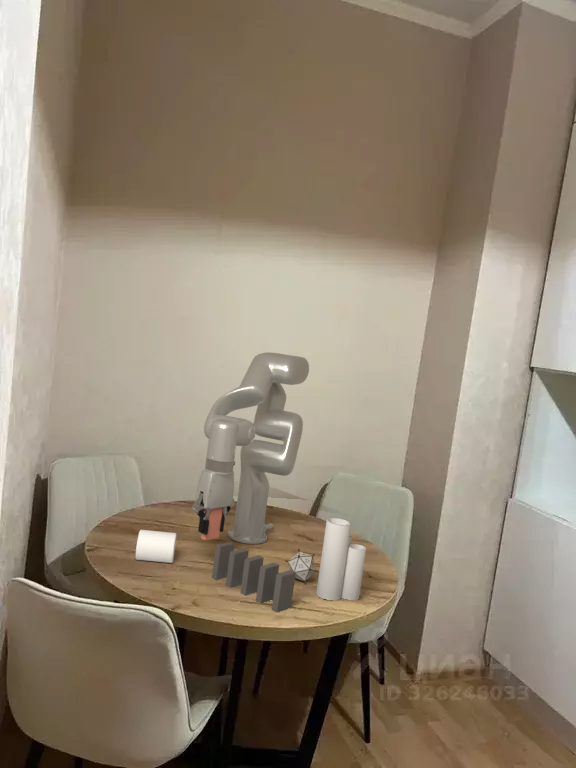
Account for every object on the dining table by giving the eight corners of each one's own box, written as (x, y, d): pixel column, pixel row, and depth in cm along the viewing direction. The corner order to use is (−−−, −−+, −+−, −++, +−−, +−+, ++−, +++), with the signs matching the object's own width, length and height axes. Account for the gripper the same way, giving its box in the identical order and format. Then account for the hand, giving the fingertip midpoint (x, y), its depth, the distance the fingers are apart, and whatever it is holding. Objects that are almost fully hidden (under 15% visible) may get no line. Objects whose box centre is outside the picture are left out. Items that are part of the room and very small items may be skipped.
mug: (171, 567, 174) (175, 538, 173) (134, 563, 173) (137, 535, 172) (175, 551, 186) (178, 524, 185) (140, 548, 185) (143, 521, 184)
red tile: (214, 535, 177) (218, 503, 176) (218, 537, 176) (223, 505, 175) (200, 538, 173) (204, 505, 172) (204, 540, 172) (209, 507, 171)
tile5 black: (269, 596, 163) (274, 562, 162) (274, 599, 162) (279, 565, 161) (255, 601, 159) (260, 566, 159) (260, 604, 158) (265, 568, 157)
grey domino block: (285, 605, 159) (290, 570, 159) (290, 607, 158) (295, 572, 158) (271, 609, 156) (276, 574, 155) (277, 612, 155) (282, 576, 154)
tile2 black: (225, 574, 174) (229, 541, 173) (230, 576, 173) (234, 544, 172) (211, 577, 170) (215, 544, 169) (216, 580, 169) (220, 547, 168)
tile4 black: (254, 588, 167) (258, 555, 166) (259, 591, 166) (263, 557, 165) (240, 593, 163) (244, 558, 162) (245, 595, 162) (249, 561, 161)
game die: (292, 590, 178) (286, 554, 183) (322, 584, 178) (315, 548, 182) (287, 585, 170) (281, 547, 175) (319, 578, 170) (311, 541, 175)
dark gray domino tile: (239, 581, 170) (243, 548, 170) (244, 583, 169) (248, 550, 168) (225, 585, 167) (230, 551, 166) (230, 587, 165) (234, 553, 165)
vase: (321, 601, 164) (332, 525, 163) (312, 589, 171) (322, 516, 170) (361, 601, 168) (372, 527, 166) (351, 589, 175) (361, 518, 173)
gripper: (232, 461, 182) (224, 523, 183) (185, 464, 169) (177, 531, 170) (251, 467, 177) (242, 531, 178) (204, 471, 164) (195, 540, 165)
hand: (210, 531), depth 174 cm, fingers closed on red tile, 4 cm apart
